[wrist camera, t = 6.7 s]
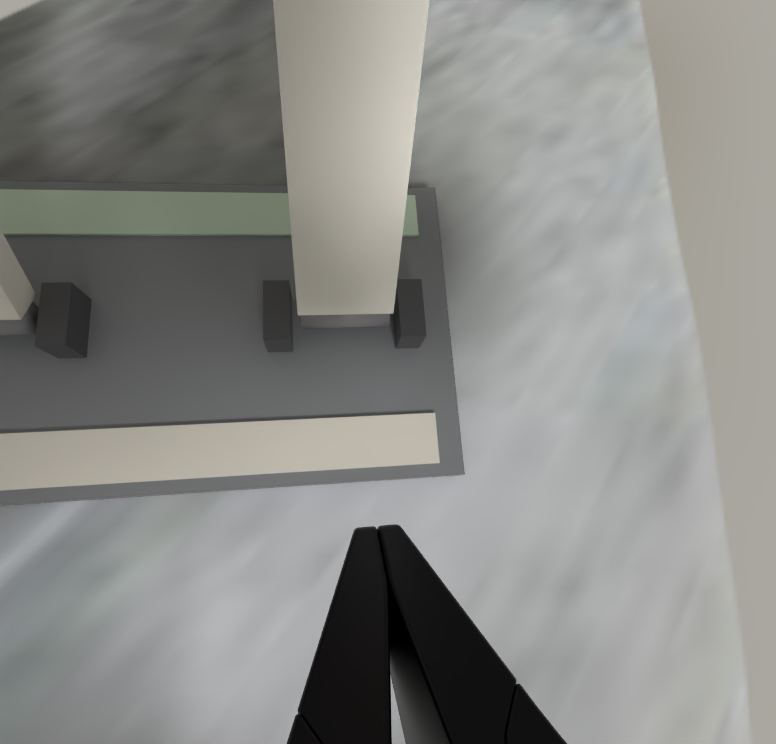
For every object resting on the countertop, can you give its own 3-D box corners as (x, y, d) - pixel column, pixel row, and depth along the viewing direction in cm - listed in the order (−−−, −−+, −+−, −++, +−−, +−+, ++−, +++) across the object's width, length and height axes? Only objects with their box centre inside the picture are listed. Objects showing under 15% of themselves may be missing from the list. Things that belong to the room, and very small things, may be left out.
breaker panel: (459, 475, 20) (476, 472, 18) (-147, 515, 17) (-220, 518, 15) (431, 197, 23) (442, 165, 21) (-86, 191, 20) (-139, 151, 18)
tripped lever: (393, 336, 19) (456, -178, 9) (296, 338, 19) (250, -204, 9) (388, 309, 20) (440, -180, 10) (296, 311, 20) (256, -202, 10)
